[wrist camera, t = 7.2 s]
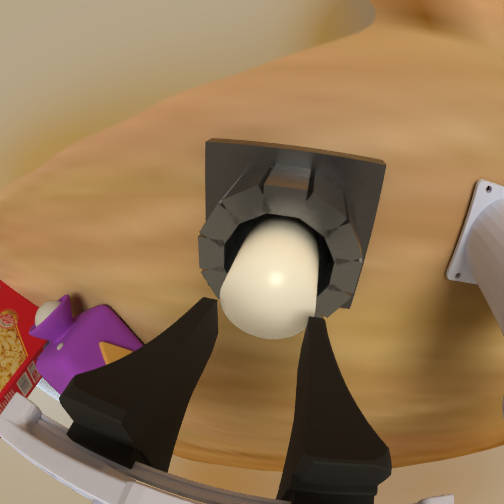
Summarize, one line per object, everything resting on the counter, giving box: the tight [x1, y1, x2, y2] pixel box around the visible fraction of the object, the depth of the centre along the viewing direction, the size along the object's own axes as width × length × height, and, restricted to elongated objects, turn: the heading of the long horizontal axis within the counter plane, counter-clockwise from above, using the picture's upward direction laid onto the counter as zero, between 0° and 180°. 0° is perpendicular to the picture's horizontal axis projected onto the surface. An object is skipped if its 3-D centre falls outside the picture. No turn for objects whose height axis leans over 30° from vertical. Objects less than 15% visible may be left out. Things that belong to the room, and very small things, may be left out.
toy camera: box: [29, 294, 144, 395], centre depth 29 cm, size 11×14×10 cm
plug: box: [220, 213, 320, 339], centre depth 17 cm, size 4×4×6 cm
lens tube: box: [198, 138, 386, 318], centre depth 19 cm, size 11×11×5 cm
